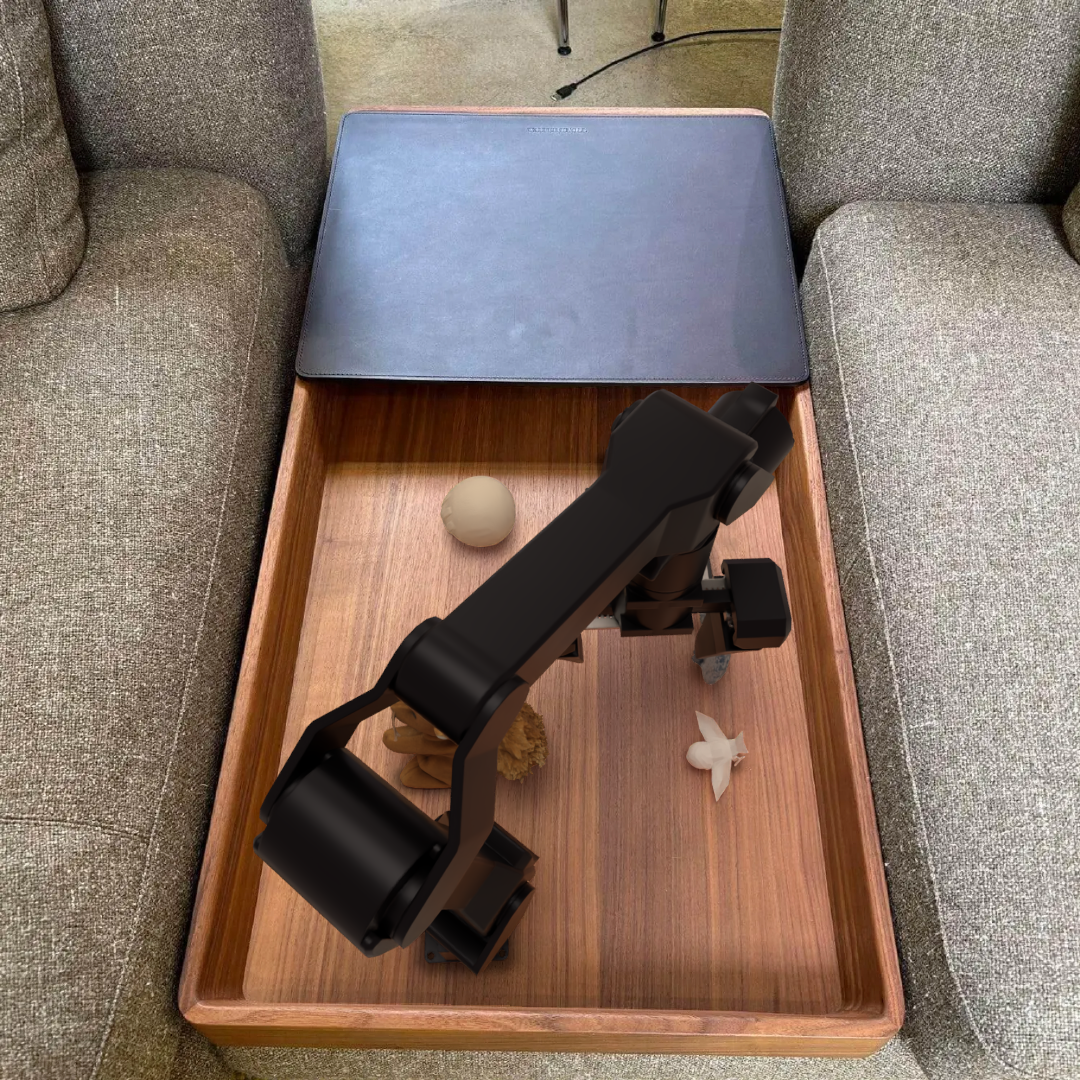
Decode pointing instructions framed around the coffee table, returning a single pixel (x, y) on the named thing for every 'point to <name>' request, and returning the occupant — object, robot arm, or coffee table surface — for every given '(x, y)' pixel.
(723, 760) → the toy bird
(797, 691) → the coffee table surface
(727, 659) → the fossil
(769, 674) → the coffee table surface
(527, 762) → the stuffed squirrel
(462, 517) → the beige round ball
